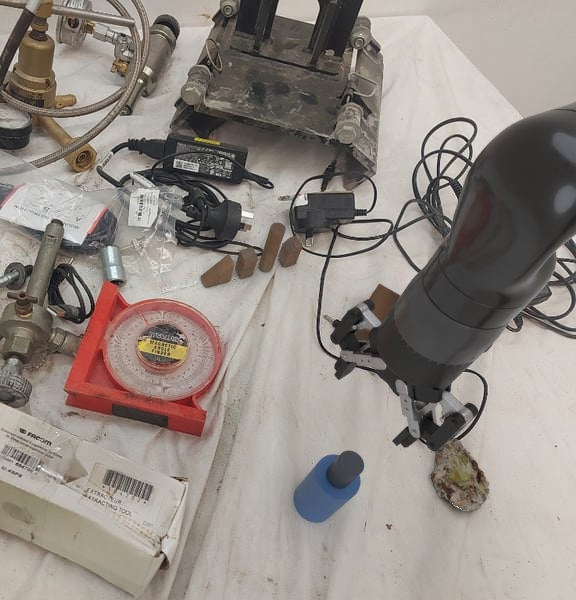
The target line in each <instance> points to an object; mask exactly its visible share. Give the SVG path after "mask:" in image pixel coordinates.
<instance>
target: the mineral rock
mask: <svg viewBox="0 0 576 600" xmlns="http://www.w3.org/2000/svg"><path fill="white" fill-rule="evenodd" d="M473 458H474V457H472V455H471V452H470V451H468V450H467V448H466V447H465V445H463V443H462V442H461V440H458V439H457V438H456V437H454V438H453V439H452V440H450V441H448V442H447V443H446V444H444V445H443V446H442V447H441V448H440V449H439V450H438V451H436V452H435V459H434V461H435V470H434V471H431V474H430V475H431V480H432V483H433V488H435V490H436V491H437V495H438V496H439V497H440V498H441V499H444V500H448V501H449V500H450V502H451V503H453V505H455V506H458V507H459V508H461V509H462V510H465V512H470V513H472V512H475V511H478V510H480V508H481V507H482V505H483V504H484V503H485V502H486V501H487V499H488V497H487V496H488V495H490V492H491V490H490V488H489V486H490V481H488V480H487V477H486V475H485V472H484V471H483V470H482V469H481V468H480V467H479V463H478V462H477V460H476V459H475V458H474V459H475V460H474V459H473ZM450 502H449V503H450ZM451 503H450V504H451ZM453 505H452V506H453ZM467 510H469V511H467Z"/></svg>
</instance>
